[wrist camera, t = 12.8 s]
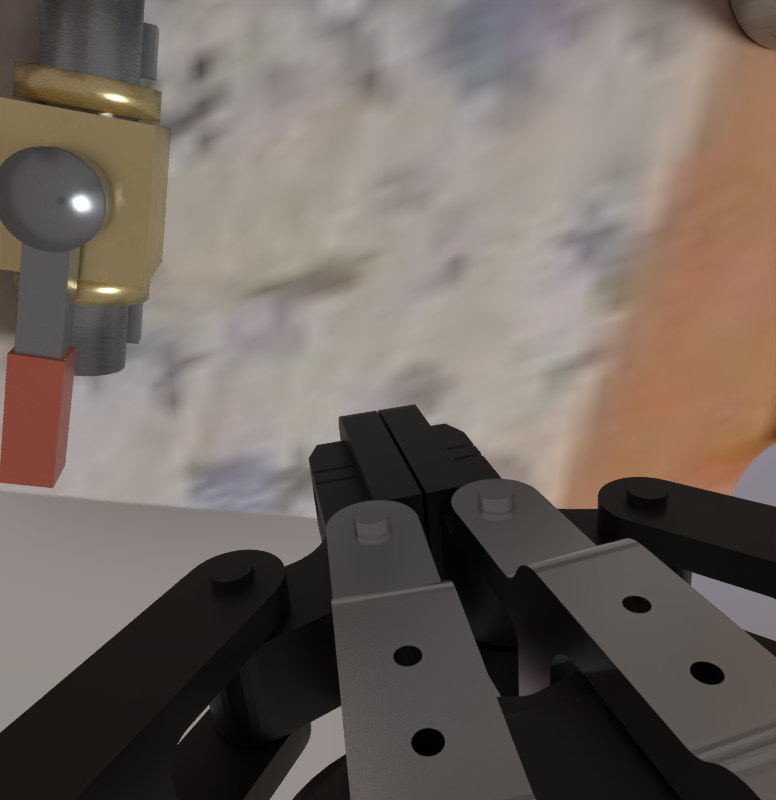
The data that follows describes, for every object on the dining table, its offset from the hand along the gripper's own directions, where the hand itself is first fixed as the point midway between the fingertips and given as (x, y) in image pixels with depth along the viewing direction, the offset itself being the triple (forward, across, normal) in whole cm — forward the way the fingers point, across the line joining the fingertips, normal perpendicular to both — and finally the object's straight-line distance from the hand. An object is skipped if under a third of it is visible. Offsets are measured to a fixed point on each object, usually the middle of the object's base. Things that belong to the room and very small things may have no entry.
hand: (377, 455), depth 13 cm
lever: (+21, +11, 0) cm, 23 cm away
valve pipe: (+29, +9, -4) cm, 31 cm away
